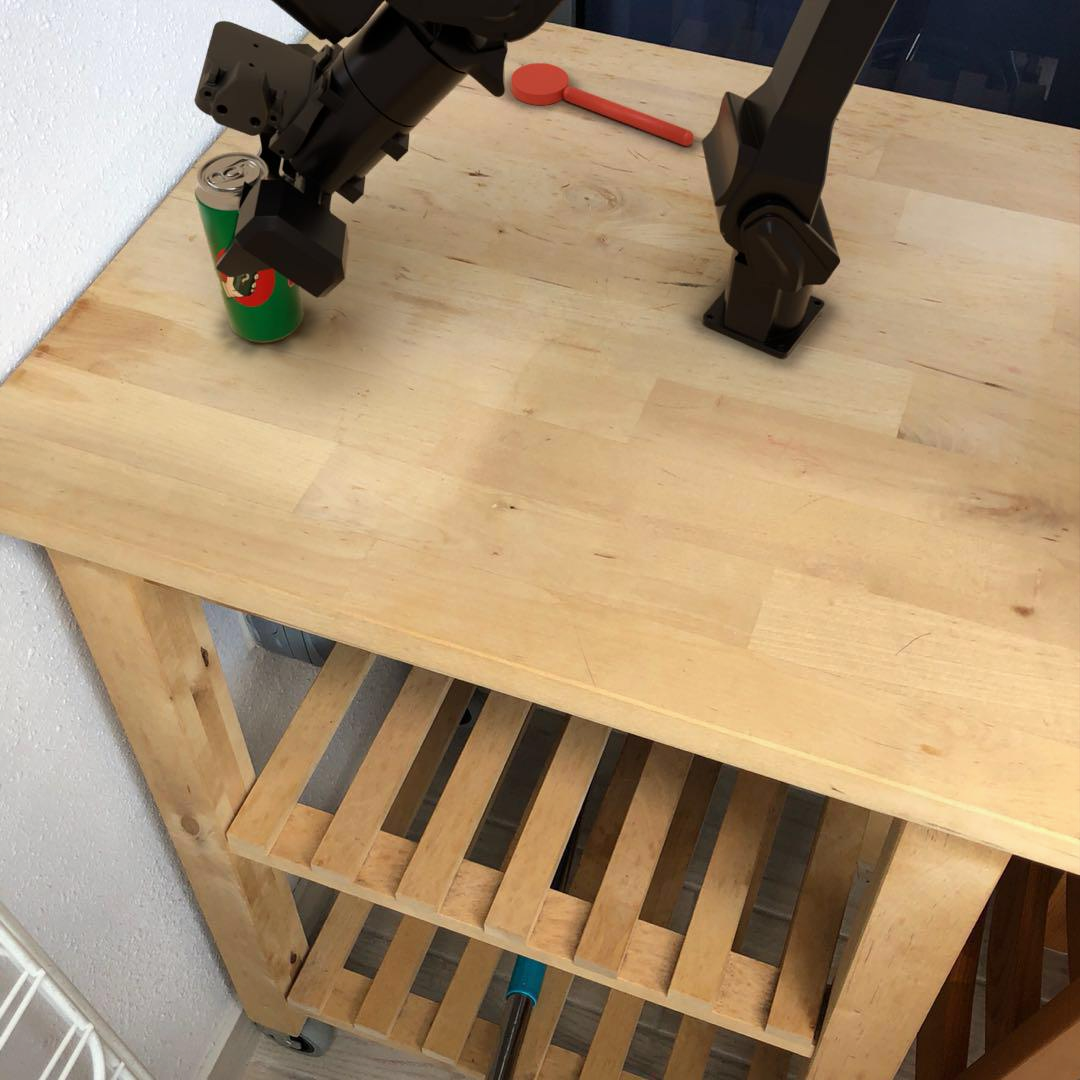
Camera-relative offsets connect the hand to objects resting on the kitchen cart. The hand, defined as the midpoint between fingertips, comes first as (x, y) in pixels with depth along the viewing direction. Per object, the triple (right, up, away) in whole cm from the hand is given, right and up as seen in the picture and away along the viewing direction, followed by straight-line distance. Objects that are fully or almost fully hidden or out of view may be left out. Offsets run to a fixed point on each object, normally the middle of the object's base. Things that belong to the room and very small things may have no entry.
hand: (228, 244), depth 76 cm
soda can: (+1, -4, +5) cm, 7 cm away
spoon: (+25, +16, +22) cm, 37 cm away
